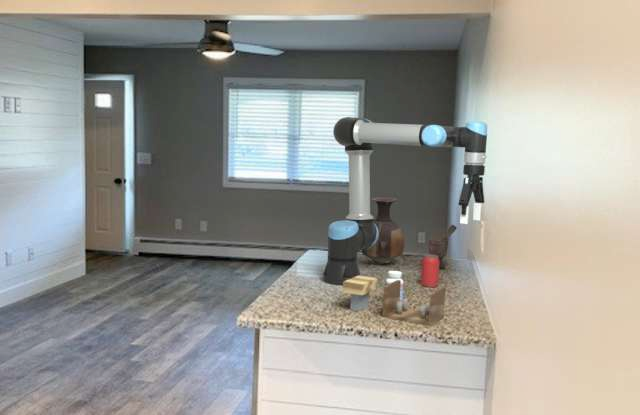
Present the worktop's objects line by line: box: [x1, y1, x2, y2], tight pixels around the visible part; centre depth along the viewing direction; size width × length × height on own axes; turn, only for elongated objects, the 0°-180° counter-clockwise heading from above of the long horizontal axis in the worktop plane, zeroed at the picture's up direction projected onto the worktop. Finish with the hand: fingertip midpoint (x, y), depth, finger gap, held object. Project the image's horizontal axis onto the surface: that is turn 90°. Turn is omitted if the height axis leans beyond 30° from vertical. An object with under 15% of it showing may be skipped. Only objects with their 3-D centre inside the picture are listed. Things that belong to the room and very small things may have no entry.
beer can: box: [420, 253, 440, 288], centre depth 235 cm, size 7×7×12 cm
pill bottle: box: [384, 270, 404, 301], centre depth 206 cm, size 6×6×11 cm
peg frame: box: [382, 280, 446, 327], centre depth 191 cm, size 16×11×10 cm
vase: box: [361, 197, 405, 265], centre depth 272 cm, size 23×19×30 cm
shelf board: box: [342, 274, 379, 295], centre depth 200 cm, size 12×7×4 cm, turn 150°
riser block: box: [349, 292, 370, 312], centre depth 201 cm, size 3×8×6 cm, turn 151°
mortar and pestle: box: [428, 224, 458, 269], centre depth 269 cm, size 12×9×20 cm
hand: (470, 221), depth 222 cm, fingers open, 13 cm apart
